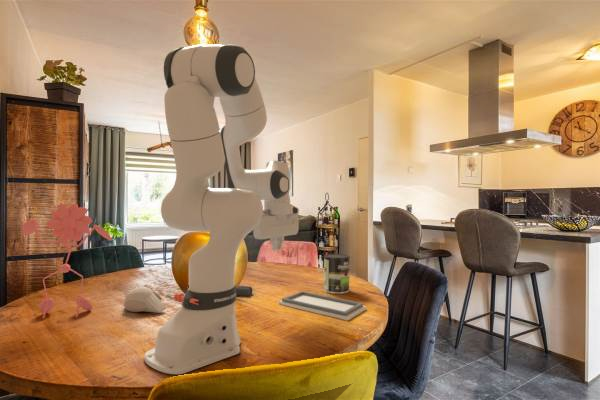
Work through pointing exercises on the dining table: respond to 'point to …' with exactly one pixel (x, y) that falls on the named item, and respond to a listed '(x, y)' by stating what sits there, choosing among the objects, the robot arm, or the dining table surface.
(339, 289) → the coffee can
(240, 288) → the can opener
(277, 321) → the dining table surface
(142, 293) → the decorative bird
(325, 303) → the baseplate tray
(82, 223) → the figurine
